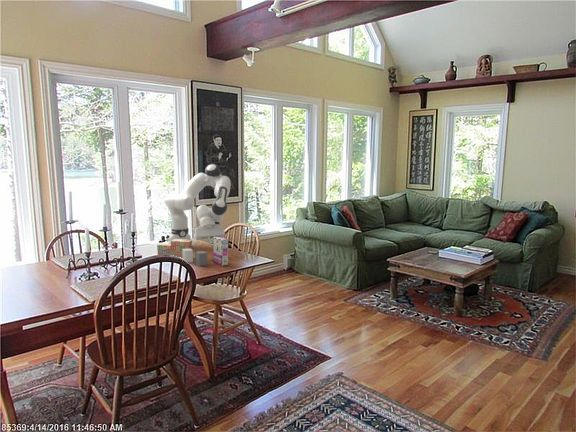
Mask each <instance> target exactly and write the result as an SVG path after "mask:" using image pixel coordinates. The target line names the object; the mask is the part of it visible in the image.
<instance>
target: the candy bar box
mask: <svg viewBox="0 0 576 432" xmlns="http://www.w3.org/2000/svg"><path fill="white" fill-rule="evenodd" d="M213 263H214V264H215V265H219V266H221V267H225V266H229V239H228V238H225V237H214V243H213Z"/></svg>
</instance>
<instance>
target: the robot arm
mask: <svg viewBox="0 0 576 432" xmlns="http://www.w3.org/2000/svg"><path fill="white" fill-rule="evenodd" d="M204 171H205V172H199V173H197V174H196V175H194V176H193V177H191V179H190V180H189V181H188V182H187V183H186V184H185V185H184V186H183V192H182V193H180V194H179V193H170V194H167V196H166V197H165V198H164V204H165V205H166V206H167V208H168V211H169V213H170V217H171V227H172V228H171V232H170V235H169V237H168V238H166V243H170V244H171V241H172V240H173V239H182V240H183V239H186V240H192V239H191V234H189V219H188V216H187V215H186V213H185V211H190V210H192V209H193V208H194V207H195V198H196V197H197V196H198V195H199V193H200V192H201V191H202V190H203V189H204V188H205V187H207V188H208V189H211V190H213V191H214V192H213V193H214V196H215V197H216V199H214V201H213V202H212V205H211V207H209V206H207V205H206V204H201V205H199V206H198V207H196V210H195V214H196V217H197V220H198V221H199V226H194V227H193V228H192V232H193V235H194V239H195V240H196V241H197V240H198V241H199V240H207V241H208V242H209V243H210V245H214V237H222V238H225V235H226V232H225V229H224V227H223V226H222V225H221V224H222V223H221V222H222V221H223V218H224V216H225V213H226V211H228V210H227V209H228V205H227V201H226V200H227V198H228V197H229V195H230V192H231V182H232V181H231V179H230V177H229V176H227V175H223V174H222V170H221V168H220V167H219V165H217V164H216V163H211V164H208V165H207V166H206V167H205V170H204ZM193 246H194V244H192V247H193Z"/></svg>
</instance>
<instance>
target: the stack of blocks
mask: <svg viewBox="0 0 576 432" xmlns="http://www.w3.org/2000/svg"><path fill="white" fill-rule="evenodd" d="M192 245H193V240H192V239H191V240H186V239H183V240H182V239H173V240H172V241H171V244H170V243H169V242H166V243H165V242H161V243H159V244H157V245H156V247H157V248H156V249H157V256H158V255H174V256H177V257H181V258H183V256H182V249H189V248H190V249H192V250H193V246H192Z"/></svg>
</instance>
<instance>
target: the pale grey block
mask: <svg viewBox="0 0 576 432" xmlns="http://www.w3.org/2000/svg"><path fill="white" fill-rule="evenodd" d="M182 256H183V259H184V260H185V261H187V262H189V264H190V263H193V262H194V253H193V248H192V249H190V248H189V249H182Z"/></svg>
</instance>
